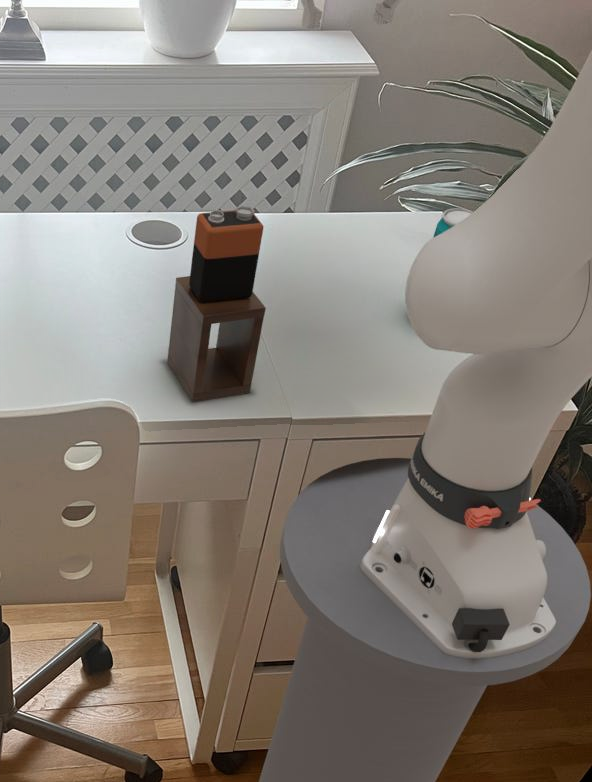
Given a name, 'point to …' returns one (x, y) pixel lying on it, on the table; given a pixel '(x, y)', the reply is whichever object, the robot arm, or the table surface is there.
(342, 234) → the table surface
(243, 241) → the battery
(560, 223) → the robot arm
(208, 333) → the shelf
